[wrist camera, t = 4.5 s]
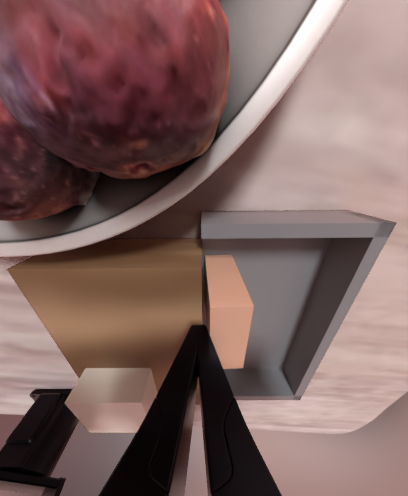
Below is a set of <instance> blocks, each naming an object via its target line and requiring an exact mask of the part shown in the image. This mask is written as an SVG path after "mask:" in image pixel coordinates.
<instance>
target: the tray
mask: <svg viewBox="0 0 408 496" xmlns="http://www.w3.org/2000/svg"><path fill="white" fill-rule="evenodd" d="M395 225H396V223H395V222H392V221H388V220H384V219H380V218H376V217H372V216H368V215H364V214H361V213H357V212H353V211H349V210H307V211H202V218H201V239H202V266H203V325H206V327H207V324H206V308H205V255H228V254H232V256H233V258H234V261H235V263H236V265H237V268H238V270H239V272H240V275H241V277H242V279H243V282H244V284H245V286H246V289H247V291H248V293H249V296H250V298H251V300H252V303H253V305H254V309H253V314H252V320H251V326H250V331H249V337H248V343H247V348H246V354H245V360H244V365H243V368H235V369H224V372H225V374H226V377H227V379H228V382H229V384H230V387H231V389H232V392H233V394H234V397H235V399H236V400H300V399H301V397H302V395H303V393H304V392H305V390H306V388H307V386H308V384H309V382H310V381H311V379H312V377H313V375H314V373H315V371H316V370H317V368H318V366H319V364H320V362H321V360H322V359H323V357H324V355H325V353H326V351H327V349H328V348H329V346H330V344H331V342H332V340H333V338H334V337H335V335H336V333H337V331H338V329H339V327H340V326H341V324H342V322H343V320H344V318H345V316H346V315H347V313H348V311H349V309H350V307H351V305H352V304H353V302H354V300H355V298H356V296H357V294H358V292H359V291H360V289H361V287H362V285H363V283H364V281H365V280H366V278H367V276H368V274H369V272H370V270H371V269H372V267H373V265H374V263H375V261H376V259H377V258H378V256H379V254H380V252H381V250H382V248H383V247H384V245H385V243H386V241H387V239H388V237H389V236H390V234H391V232H392V230H393V228H394V226H395Z"/></svg>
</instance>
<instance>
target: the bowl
mask: <svg viewBox="0 0 408 496" xmlns="http://www.w3.org/2000/svg"><path fill="white" fill-rule="evenodd" d="M347 2H348V0H0V257H19V256H34V255H43V254H51V253H57V252H62V251H67V250H72V249H76V248H80V247H84V246H88V245H91V244H94V243H97V242H100V241H103V240H106V239H109V238H112V237H114V236H116V235H119V234H121V233H123V232H126V231H128V230H130V229H132V228H134V227H136V226H138V225H140V224H142V223H144V222H146V221H148V220H150V219H151V218H153V217H155V216H156V215H158V214H160V213H161V212H163V211H164V210H166V209H168V208H169V207H171V206H172V205H173V204H175V203H176V202H178V201H179V200H180V199H182V198H183V197H185V196H186V195H187V194H189V193H190V192H191V191H192V190H194V189H195V188H196V187H197V186H198V185H200V184H201V183H202V182H203V181H204V180H206V179H207V178H208V177H209V176H210V175H211V174H212V173H214V172H215V171H216V170H217V169H218V168H219V167H220V166H221V165H222V164H223V163H224V162H225V161H226V160H227V159H228V158H229V157H230V156H231V155H232V154H233V153H234V152H235V151H236V150H237V149H238V148H239V147H240V146H241V145H242V144H243V143H244V142H245V140H246V139H247V138H248V137H249V136H250V135H251V134H252V133H253V132H254V131H255V130H256V128H257V127H258V126H259V125H260V124H261V122H262V121H263V120H264V119H265V118H266V116H267V115H268V114H269V113H270V112H271V110H272V109H273V108H274V107H275V106H276V104H277V103H278V102H279V101H280V99H281V98H282V97H283V95H284V94H285V93H286V91H287V90H288V89H289V87H290V86H291V85H292V83H293V82H294V81H295V79H296V78H297V77H298V75H299V74H300V73H301V71H302V70H303V69H304V67H305V66H306V64H307V63H308V61H309V60H310V58H311V57H312V55H313V54H314V52H315V51H316V49H317V48H318V47H319V45H320V44H321V42H322V41H323V39H324V38H325V36H326V35H327V33H328V32H329V30H330V29H331V27H332V26H333V24H334V23H335V21H336V20H337V18H338V16H339V15H340V13H341V12H342V10H343V8H344V7H345V5H346V4H347Z"/></svg>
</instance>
